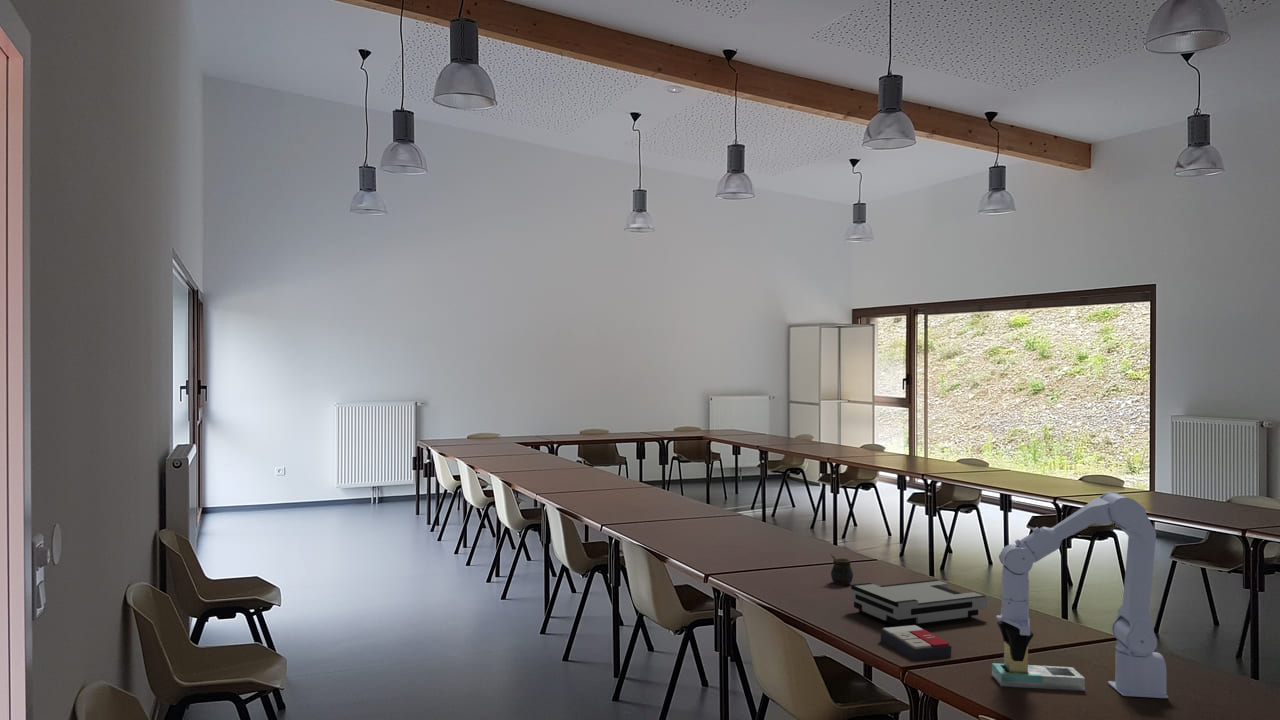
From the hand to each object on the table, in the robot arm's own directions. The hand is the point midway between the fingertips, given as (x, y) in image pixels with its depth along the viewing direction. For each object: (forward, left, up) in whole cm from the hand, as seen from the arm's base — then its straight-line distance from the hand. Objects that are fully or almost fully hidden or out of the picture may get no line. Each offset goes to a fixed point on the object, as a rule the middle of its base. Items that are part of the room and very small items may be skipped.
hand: (1014, 657), depth 193 cm
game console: (+11, -51, -6) cm, 52 cm away
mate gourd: (+29, -85, -6) cm, 90 cm away
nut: (0, 0, -3) cm, 3 cm away
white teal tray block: (-5, 0, -6) cm, 8 cm away
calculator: (+18, -20, -6) cm, 28 cm away
